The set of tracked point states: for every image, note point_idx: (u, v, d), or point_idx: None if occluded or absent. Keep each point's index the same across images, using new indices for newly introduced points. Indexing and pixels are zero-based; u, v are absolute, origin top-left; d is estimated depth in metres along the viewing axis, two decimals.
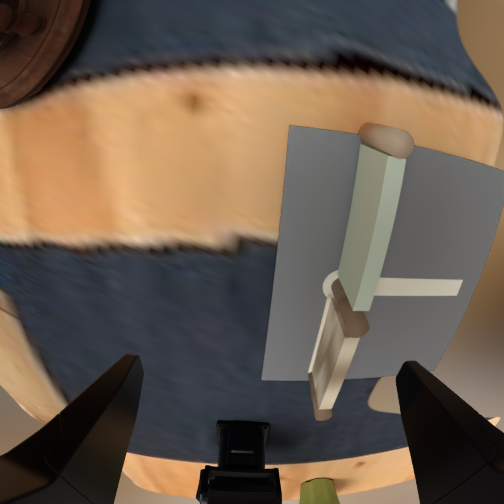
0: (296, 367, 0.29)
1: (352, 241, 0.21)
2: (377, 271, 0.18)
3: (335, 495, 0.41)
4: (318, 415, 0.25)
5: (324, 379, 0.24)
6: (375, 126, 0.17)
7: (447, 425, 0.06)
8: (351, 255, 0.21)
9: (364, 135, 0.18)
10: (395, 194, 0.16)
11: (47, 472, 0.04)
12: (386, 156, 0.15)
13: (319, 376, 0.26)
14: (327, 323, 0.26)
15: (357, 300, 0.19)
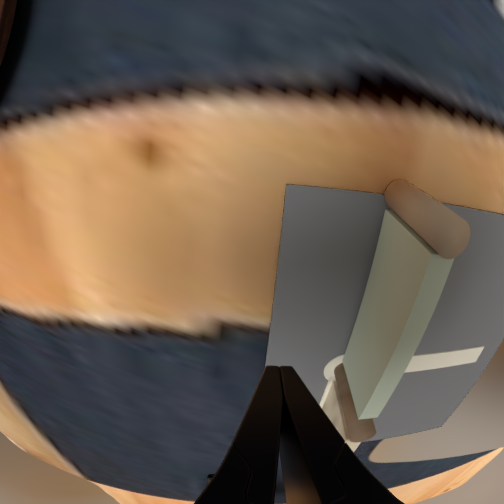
0: None
1: (365, 336, 0.15)
2: (393, 384, 0.13)
3: None
4: None
5: None
6: (412, 194, 0.12)
7: (298, 448, 0.06)
8: (361, 353, 0.16)
9: (393, 202, 0.13)
10: (432, 302, 0.11)
11: None
12: (428, 253, 0.10)
13: None
14: (327, 406, 0.20)
15: (364, 411, 0.14)
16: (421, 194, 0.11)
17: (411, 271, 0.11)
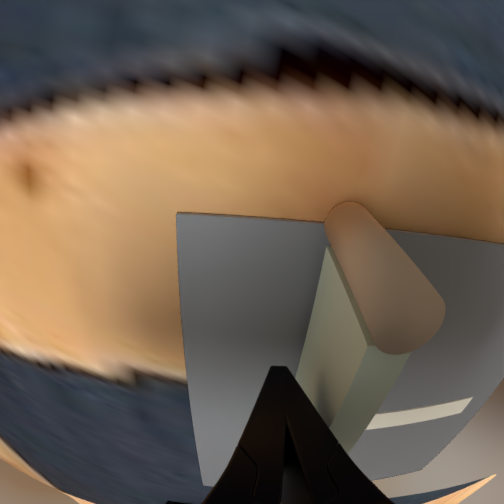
0: None
1: None
2: None
3: None
4: None
5: None
6: (356, 230, 0.08)
7: (291, 448, 0.06)
8: None
9: (332, 239, 0.09)
10: (373, 402, 0.07)
11: None
12: (364, 342, 0.06)
13: None
14: None
15: None
16: (370, 232, 0.07)
17: (342, 356, 0.07)
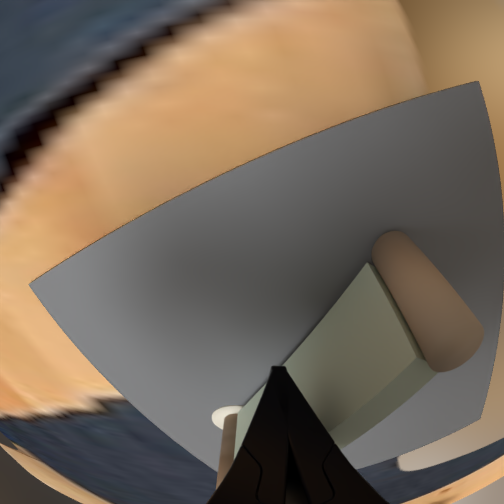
0: None
1: None
2: None
3: None
4: None
5: None
6: (416, 258, 0.08)
7: None
8: None
9: (384, 258, 0.09)
10: (382, 412, 0.07)
11: None
12: (412, 354, 0.06)
13: None
14: None
15: None
16: (429, 264, 0.08)
17: (373, 363, 0.08)
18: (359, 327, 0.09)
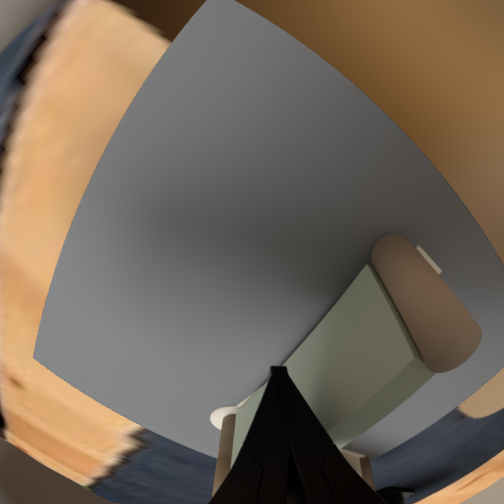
0: None
1: None
2: None
3: None
4: None
5: None
6: (415, 260, 0.08)
7: None
8: None
9: (383, 260, 0.09)
10: (380, 413, 0.07)
11: None
12: (410, 354, 0.07)
13: None
14: None
15: None
16: (428, 266, 0.08)
17: (371, 363, 0.08)
18: (358, 328, 0.09)
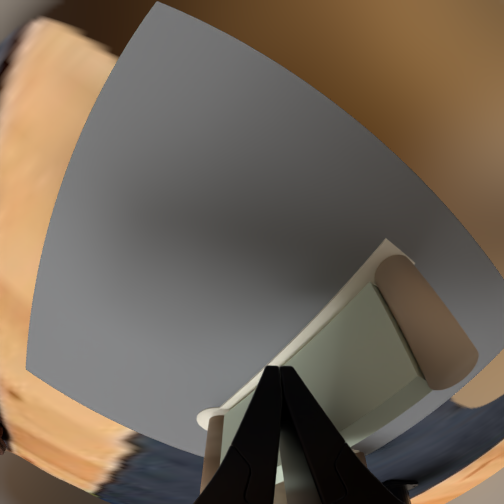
0: None
1: None
2: (277, 480, 0.10)
3: None
4: None
5: None
6: (420, 284, 0.09)
7: (298, 448, 0.06)
8: None
9: (389, 280, 0.10)
10: (378, 424, 0.08)
11: None
12: (413, 372, 0.07)
13: None
14: None
15: None
16: (432, 291, 0.08)
17: (374, 378, 0.08)
18: (360, 343, 0.10)
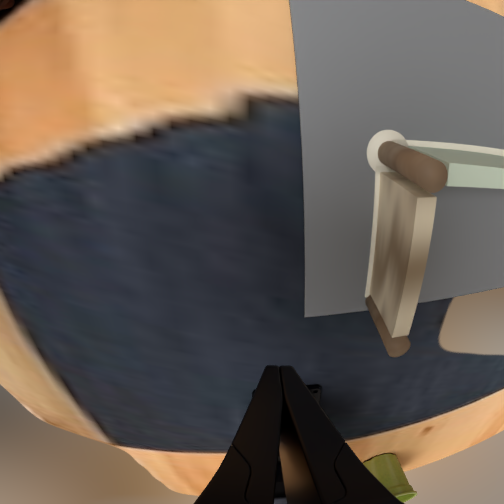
0: (349, 291, 0.22)
1: (467, 154, 0.15)
2: (488, 183, 0.13)
3: (402, 472, 0.34)
4: (392, 346, 0.17)
5: (394, 287, 0.17)
6: None
7: (298, 447, 0.06)
8: (459, 155, 0.15)
9: None
10: None
11: None
12: None
13: (384, 290, 0.19)
14: (382, 208, 0.18)
15: (461, 165, 0.12)
16: None
17: None
18: None
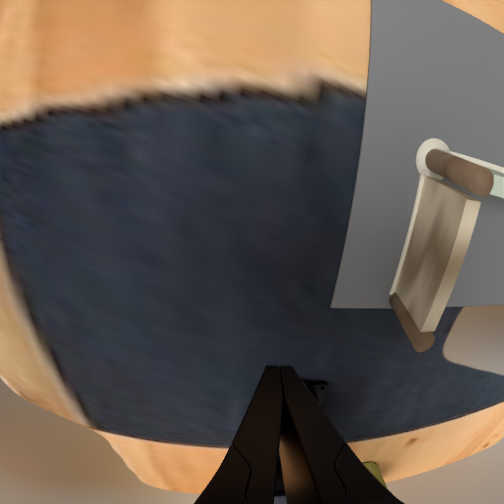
0: (377, 286, 0.22)
1: (500, 173, 0.16)
2: None
3: (383, 481, 0.34)
4: (420, 340, 0.18)
5: (428, 283, 0.17)
6: None
7: (298, 448, 0.06)
8: (494, 171, 0.15)
9: None
10: None
11: None
12: None
13: (415, 286, 0.19)
14: (423, 209, 0.18)
15: (502, 178, 0.13)
16: None
17: None
18: None
